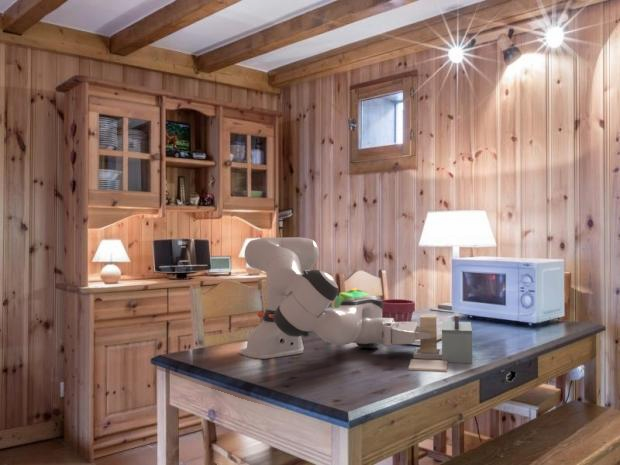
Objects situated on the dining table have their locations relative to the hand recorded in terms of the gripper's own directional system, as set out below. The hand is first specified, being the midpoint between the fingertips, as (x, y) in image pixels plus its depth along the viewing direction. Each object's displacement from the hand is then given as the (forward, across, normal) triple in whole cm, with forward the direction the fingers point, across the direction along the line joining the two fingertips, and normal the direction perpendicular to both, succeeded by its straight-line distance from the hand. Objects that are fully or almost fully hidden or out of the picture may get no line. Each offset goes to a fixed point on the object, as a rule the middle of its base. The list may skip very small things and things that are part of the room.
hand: (431, 332), depth 183 cm
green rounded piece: (-36, -62, -8) cm, 72 cm away
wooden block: (-1, 0, -8) cm, 8 cm away
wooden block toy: (+4, 0, -8) cm, 8 cm away
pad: (0, +14, -8) cm, 16 cm away
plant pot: (-15, -36, -8) cm, 40 cm away
